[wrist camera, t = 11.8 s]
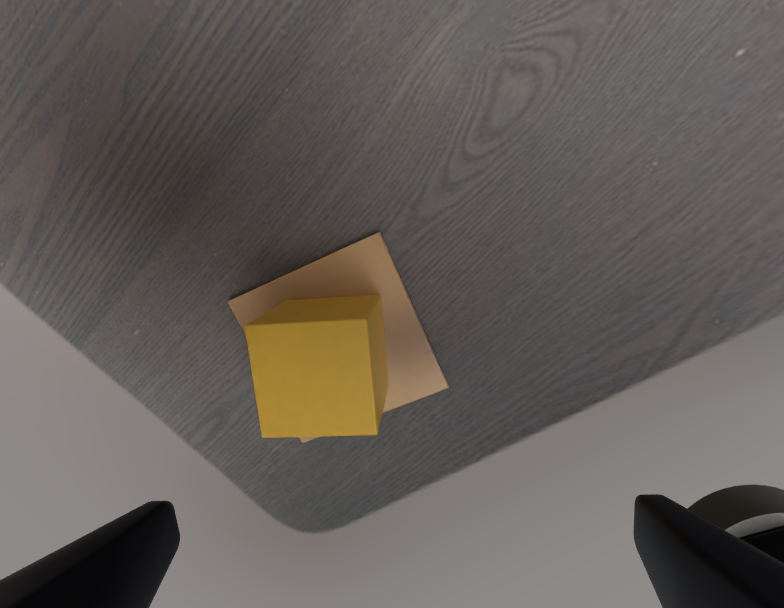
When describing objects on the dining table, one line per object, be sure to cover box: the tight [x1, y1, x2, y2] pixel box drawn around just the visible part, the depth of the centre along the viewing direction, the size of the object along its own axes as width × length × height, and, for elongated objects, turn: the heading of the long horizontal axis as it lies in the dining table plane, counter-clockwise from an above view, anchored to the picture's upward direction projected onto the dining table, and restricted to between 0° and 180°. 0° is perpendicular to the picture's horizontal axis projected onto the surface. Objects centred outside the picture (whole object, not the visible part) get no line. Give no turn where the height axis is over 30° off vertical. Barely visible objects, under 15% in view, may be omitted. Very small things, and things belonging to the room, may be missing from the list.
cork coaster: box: [228, 232, 449, 443], centre depth 19 cm, size 8×8×1 cm
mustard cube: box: [245, 295, 389, 438], centre depth 17 cm, size 4×4×4 cm
